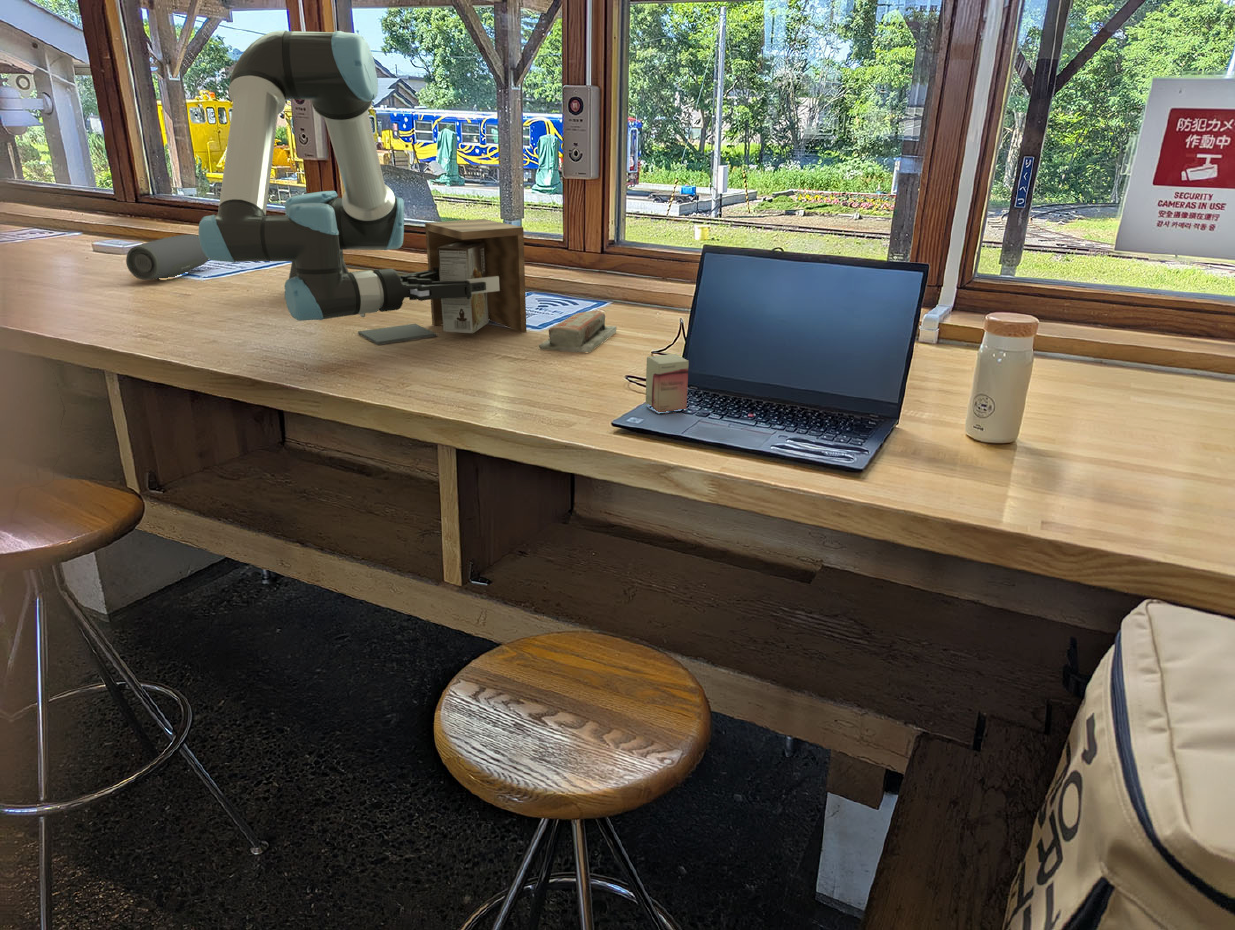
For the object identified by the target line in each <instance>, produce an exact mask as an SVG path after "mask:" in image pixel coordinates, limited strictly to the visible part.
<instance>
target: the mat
mask: <svg viewBox="0 0 1235 930" xmlns="http://www.w3.org/2000/svg"><path fill="white" fill-rule="evenodd" d="M357 334H358V335H359V336H360V337H363V338H365V340H368V341H369V342H372V343H374V344H375V345H378V346H381V345H387V344H395V343H401V342H408V341H414V340H420V339H429V338H434V337H435V338H436V337H437V336H438V335H437V333H436V332H434V331H432V330H430V329H428V328H427V327H424V326H421V325H420V324H417V323H410V324H409V323H408V324H402V325H395V326H389V327H388V326H387V327H382V328H380V327H379V328H373V329H366V330H365V329H364V330H360V331H358V332H357Z"/></svg>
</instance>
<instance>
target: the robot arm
mask: <svg viewBox="0 0 1235 930" xmlns="http://www.w3.org/2000/svg"><path fill="white" fill-rule="evenodd" d="M378 91H379V83H378V74H377V71H376V63H375V59H374V57H373V53H372V50H371V48H370V45H369V43H368V42H367V40H366V39H365V38H364V37H363V36H362V35H360V34H358V33H354V32H344V31H343V30H342V31H341V30H336V31H334V32H333V31H331V32H330V31H329V32H328V31H326V32H325V31H291V30H290V31H288V30H275V31H271V32H269V33H266V34H263V36H260V37H259V38H257V39H256V40H254V41H253V42H252V43H250V45H249V46H248V47H247V48H246V49H245V50H244V51H243V52H242V54H241V55H240V57H239V59H238V60H237V61H236V63H235V64H234V68H233V69H232V72H231V76H230V80H229V87H228V95H229V98H230V100H231V101H232V109H231V116H230V117H231V118H230V124H229V129H228V130H229V131H228V137H227V145H226V153H225V160H224V161H225V162H224V165H223V166H224V167H223V175H222V181H221V189H220V196H219V202H218V203H219V204H218V211H217V214H216V215H215V214H212V215H205V216H203V217H202V218H201V220H200V221H199V224H198V236H199V241H200V245H201V248H202V251H203V252H204V253H205V256H206V257H207V258H209V259H208V260H210V261H214V262H225V263H233V264H234V263H237V262H239V263H240V262H241V263H243V262H245V263H246V262H291V266H290V269H289V275H288V279H286V280H285V283H284V293H283V294H284V299H285V303H286V308H287V310H288V312H289V314H290V315H291V317H292V318H293V319H294V320H296V321H297V322H298V321H299V322H302V321H304V322H305V321H318V320H319V321H323V320H327V319H329V320H330V319H335V318H340V317H341V318H342V317H348V316H349V317H350V316H356V315H359V317H361V318H365V317H366V314H371V313H372V314H374V313H378V312H379V311H380V312H382V313H383V312H391V311H392V312H393V311H397V310H400V309H401V308H402V306H403V303H404V300H405V298H407V299H408V298H409V300H410V301H419V302H423V301H429V300H430V299H446V298H463V297H467V299H471V297H472V294H478V293H486V292H494V291H500V289H499V276H493V277H484V278H475V279H466V281H440V276H439V268H438V267H434V268H433V272H432V270H428V269H427V270H422V271H416V272H411V273H404V274H399V273H398V272H397V270H395V269H393V268H381V269H374V270H371V269H369V270H368V269H367V270H359V271H358V270H357V271H349V269H348V267H347V265H346V263H345V260H344V252H343V251H344V250H354V251H355V250H356V251H357V250H358V251H362V250H363V251H388V250H398V249H400V248H401V247H402V246H403V243H404V235H405V201H404V199H403V198H402V197H399V196H395V193H394V192H393V190H392V189H391V188H390V187H389V186H388V185H387V184H385V179H384V175H383V172H382V166H381V162H380V158H379V153H378V149H377V144H376V141H375V137H374V132H373V128H372V127H373V126H372V122H371V119H370V115H369V110H370V109H371V107H372V105H373V101H374V100H376V98H377V97H378V93H379V92H378ZM288 100H289V101H290V100H304V101H307V100H310V102H311V105H312V108H313V109H314V111H315V112H316V113H317V115H318V116H320V117H322V118H324V122H325V125H326V129H327V132H328V135H329V139H330V142H331V145H332V148H333V153H334V157H335V160H336V163H337V166H338V170H339V173H340V176H341V177H340V178H341V180H342V183H343V187H344V190H345V191H344V193H343V194H342V195H343V196H342V197H338V196H339V195H338V193H337V191H335V190H326V191H317V192H309V193H304V194H302V193H301V194H298V195H297V194H296V195H293V196H289V197H288V198H287V199H286V200H285V203H284V211H285V215H284V214H283V215H267V207H268V198H269V192H270V182H271V176H272V175H271V174H272V167H273V166H272V165H273V158H274V150H275V149H274V148H275V142H276V134H277V125H278V118H279V115H280V114H281V113H282V112H283V111H284V109H285V107H286V101H288ZM430 301H431V300H430Z"/></svg>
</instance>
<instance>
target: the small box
mask: <svg viewBox="0 0 1235 930" xmlns="http://www.w3.org/2000/svg"><path fill="white" fill-rule="evenodd" d="M689 364H690V363H689V360H687V359H685V358H684V357H682V356H680V355H679V354H673V353H672V354H660V355H655V356H647V357H646V367H645V370H646V371H645V372H646V373H645V405H646V404H649V405H651V406H652V407H653V408H654V409H655V410H656V411H658V412H666V411H674V410H678V409H686V410H687V407H688V387H689V386H688V382H689Z"/></svg>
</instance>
